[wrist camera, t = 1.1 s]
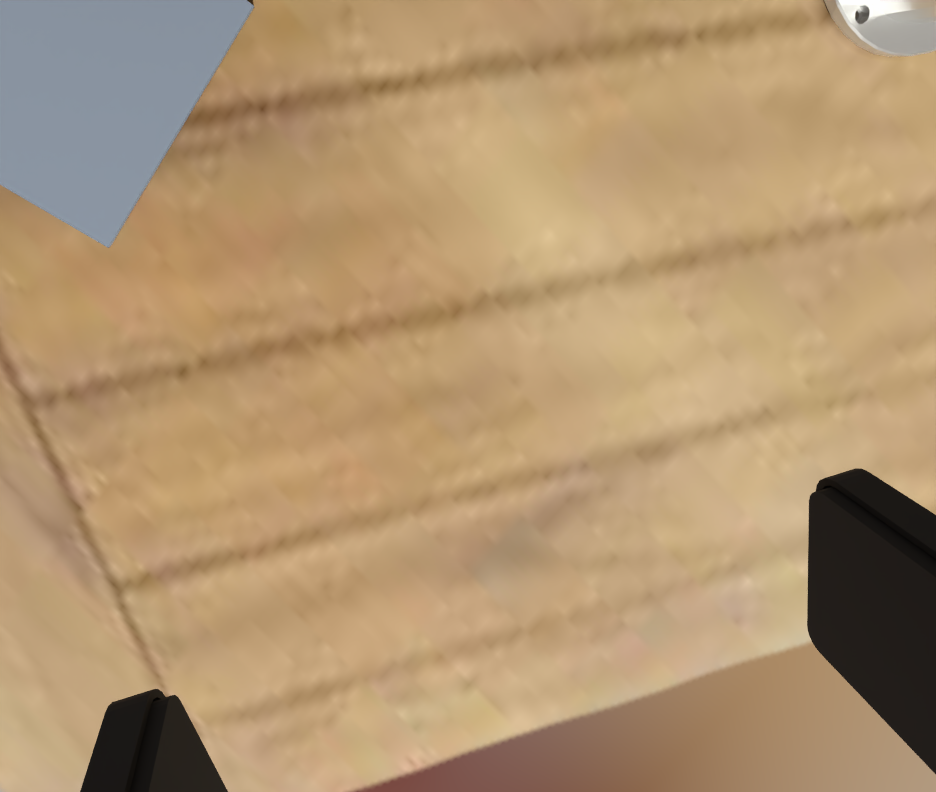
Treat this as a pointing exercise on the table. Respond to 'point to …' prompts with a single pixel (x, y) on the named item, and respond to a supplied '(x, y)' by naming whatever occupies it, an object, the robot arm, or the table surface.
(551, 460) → the table surface
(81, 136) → the mat
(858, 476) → the robot arm
